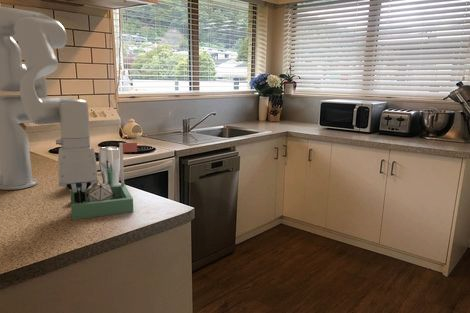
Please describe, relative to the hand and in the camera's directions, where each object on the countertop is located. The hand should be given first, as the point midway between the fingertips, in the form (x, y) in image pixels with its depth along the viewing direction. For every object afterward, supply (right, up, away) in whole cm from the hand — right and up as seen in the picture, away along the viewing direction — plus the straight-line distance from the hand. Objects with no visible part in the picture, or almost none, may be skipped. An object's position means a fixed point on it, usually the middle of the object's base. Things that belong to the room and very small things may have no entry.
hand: (80, 203), depth 108 cm
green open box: (+7, -1, +4) cm, 8 cm away
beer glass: (+3, +2, +19) cm, 19 cm away
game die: (+6, -2, +1) cm, 6 cm away
